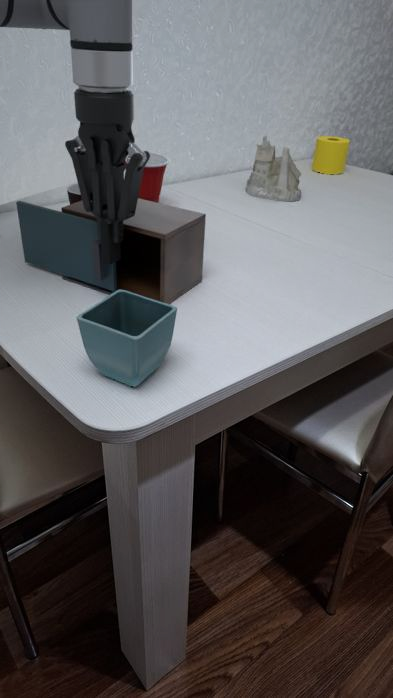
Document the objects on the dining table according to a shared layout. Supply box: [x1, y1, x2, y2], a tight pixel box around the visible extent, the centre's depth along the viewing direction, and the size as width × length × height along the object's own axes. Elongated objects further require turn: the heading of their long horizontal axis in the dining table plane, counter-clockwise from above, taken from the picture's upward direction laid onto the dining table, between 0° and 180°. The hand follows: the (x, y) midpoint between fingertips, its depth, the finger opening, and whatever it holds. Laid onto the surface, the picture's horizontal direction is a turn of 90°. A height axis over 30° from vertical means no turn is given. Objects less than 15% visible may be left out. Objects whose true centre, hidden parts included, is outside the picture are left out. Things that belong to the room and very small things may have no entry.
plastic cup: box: [126, 150, 170, 203], centre depth 117 cm, size 11×11×12 cm
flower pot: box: [76, 290, 178, 388], centre depth 62 cm, size 9×9×9 cm
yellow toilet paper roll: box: [311, 135, 351, 175], centre depth 159 cm, size 10×10×9 cm
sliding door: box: [15, 200, 117, 291], centre depth 82 cm, size 2×20×11 cm, turn 60°
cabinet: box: [60, 198, 207, 305], centre depth 84 cm, size 13×20×12 cm
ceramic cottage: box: [245, 135, 302, 202], centre depth 134 cm, size 16×16×15 cm
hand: (111, 260), depth 77 cm, fingers closed
